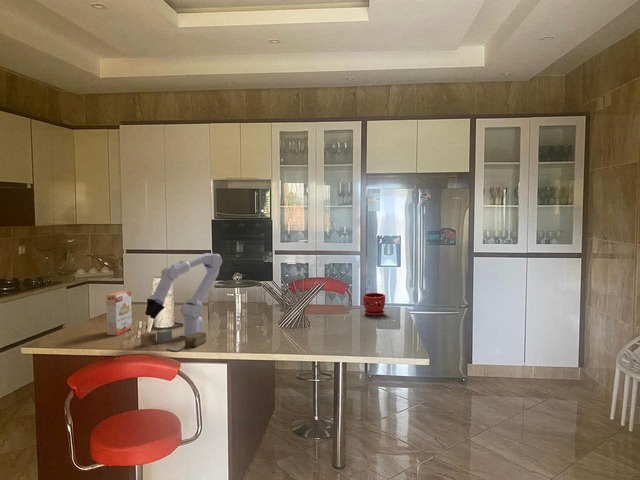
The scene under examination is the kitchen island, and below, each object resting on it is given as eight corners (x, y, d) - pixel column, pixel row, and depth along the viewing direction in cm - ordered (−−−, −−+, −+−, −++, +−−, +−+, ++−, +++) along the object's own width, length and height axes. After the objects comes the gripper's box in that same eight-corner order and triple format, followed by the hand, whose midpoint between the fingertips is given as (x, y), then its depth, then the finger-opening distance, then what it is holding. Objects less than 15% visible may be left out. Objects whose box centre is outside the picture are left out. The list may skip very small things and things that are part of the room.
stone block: (207, 341, 242) (206, 331, 242) (194, 348, 231) (194, 338, 231) (196, 341, 244) (196, 331, 243) (183, 347, 233) (183, 337, 232)
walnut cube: (149, 342, 241) (148, 332, 241) (156, 343, 239) (156, 333, 239) (140, 345, 237) (140, 334, 237) (148, 346, 235) (147, 335, 234)
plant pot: (359, 313, 302) (359, 293, 302) (377, 311, 308) (377, 292, 307) (370, 317, 291) (370, 297, 290) (389, 315, 296) (389, 295, 295)
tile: (176, 346, 234) (176, 345, 234) (186, 348, 230) (186, 347, 230) (166, 350, 228) (166, 348, 228) (176, 352, 225) (176, 350, 225)
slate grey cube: (164, 339, 247) (164, 329, 247) (172, 340, 245) (171, 330, 244) (156, 341, 243) (156, 331, 243) (164, 342, 240) (163, 332, 240)
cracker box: (117, 336, 253) (115, 295, 252) (106, 335, 254) (105, 295, 253) (132, 329, 267) (131, 290, 265) (122, 328, 268) (121, 290, 267)
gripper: (158, 291, 247) (146, 316, 243) (150, 283, 234) (137, 310, 229) (171, 295, 247) (160, 321, 242) (164, 288, 233) (151, 315, 229)
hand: (149, 316), depth 236 cm, fingers open, 7 cm apart
